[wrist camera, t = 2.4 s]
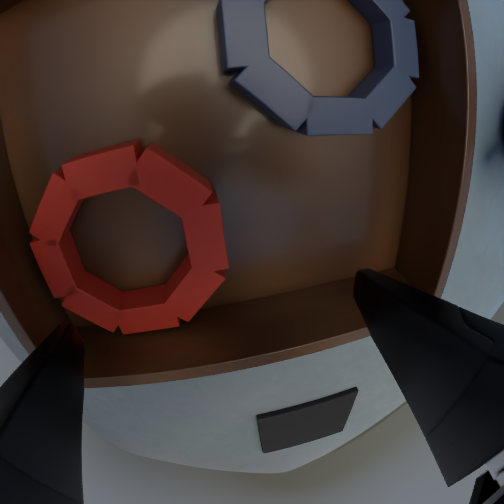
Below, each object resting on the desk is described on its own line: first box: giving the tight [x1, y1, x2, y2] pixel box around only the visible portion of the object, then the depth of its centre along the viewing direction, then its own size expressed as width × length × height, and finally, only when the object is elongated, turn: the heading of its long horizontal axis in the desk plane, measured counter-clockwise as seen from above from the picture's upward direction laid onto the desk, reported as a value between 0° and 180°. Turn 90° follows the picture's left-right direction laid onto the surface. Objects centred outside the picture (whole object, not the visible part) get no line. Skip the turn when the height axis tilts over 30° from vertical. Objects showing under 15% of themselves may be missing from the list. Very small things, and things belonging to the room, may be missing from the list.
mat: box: [257, 387, 358, 453], centre depth 27 cm, size 10×10×1 cm
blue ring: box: [216, 0, 419, 136], centre depth 9 cm, size 9×9×2 cm
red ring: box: [29, 140, 229, 334], centre depth 12 cm, size 9×9×2 cm
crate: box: [0, 0, 477, 388], centre depth 10 cm, size 22×20×5 cm
